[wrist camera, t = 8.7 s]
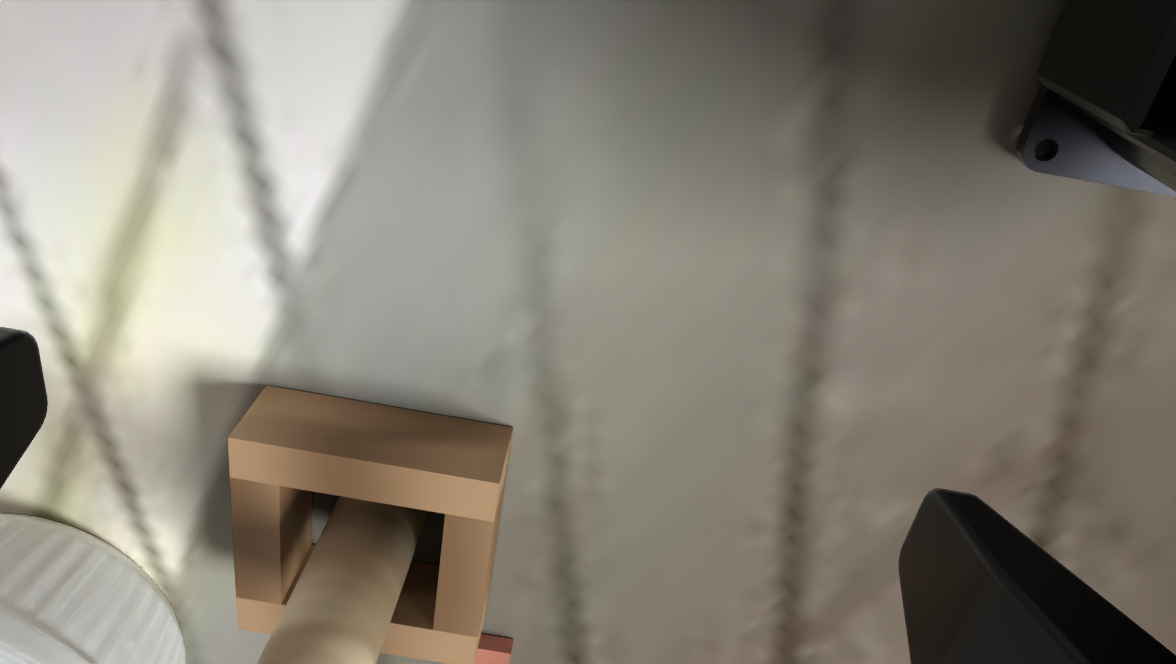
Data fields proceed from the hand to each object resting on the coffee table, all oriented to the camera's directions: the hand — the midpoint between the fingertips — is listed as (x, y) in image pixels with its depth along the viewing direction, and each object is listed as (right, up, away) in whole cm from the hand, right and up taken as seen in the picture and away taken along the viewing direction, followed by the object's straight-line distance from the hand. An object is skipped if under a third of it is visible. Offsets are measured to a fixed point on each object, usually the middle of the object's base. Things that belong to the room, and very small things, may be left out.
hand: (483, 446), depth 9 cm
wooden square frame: (-5, -5, +18) cm, 19 cm away
